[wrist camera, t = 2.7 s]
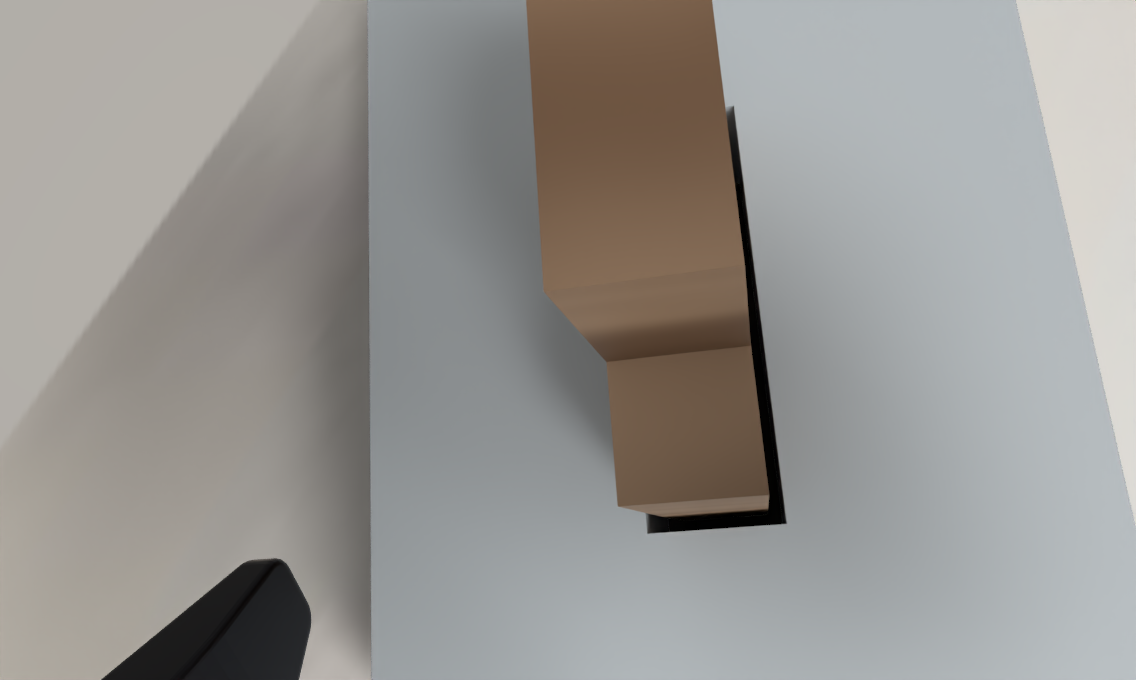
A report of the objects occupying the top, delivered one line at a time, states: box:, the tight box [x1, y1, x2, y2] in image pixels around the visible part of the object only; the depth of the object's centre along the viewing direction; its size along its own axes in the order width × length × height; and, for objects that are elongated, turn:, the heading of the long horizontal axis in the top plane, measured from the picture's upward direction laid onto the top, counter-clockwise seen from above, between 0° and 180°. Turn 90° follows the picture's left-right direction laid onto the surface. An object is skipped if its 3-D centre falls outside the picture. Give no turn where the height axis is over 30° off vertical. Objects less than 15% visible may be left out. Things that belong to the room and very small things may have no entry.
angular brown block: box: [526, 0, 769, 521], centre depth 15 cm, size 8×2×12 cm, turn 4°
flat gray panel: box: [368, 0, 1136, 680], centre depth 19 cm, size 18×14×4 cm
